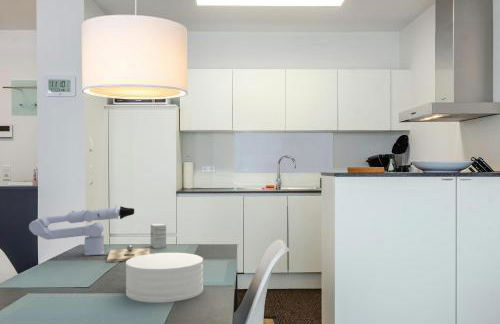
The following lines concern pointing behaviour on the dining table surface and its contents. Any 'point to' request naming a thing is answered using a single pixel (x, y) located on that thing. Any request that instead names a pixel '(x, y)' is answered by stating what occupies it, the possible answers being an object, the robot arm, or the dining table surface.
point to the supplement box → (158, 235)
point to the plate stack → (164, 277)
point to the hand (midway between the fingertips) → (134, 211)
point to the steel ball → (129, 248)
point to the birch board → (126, 254)
